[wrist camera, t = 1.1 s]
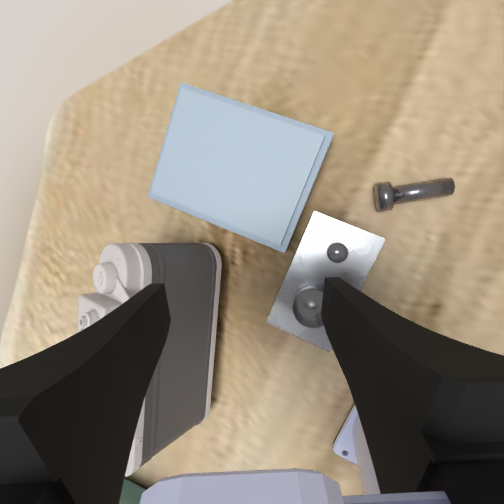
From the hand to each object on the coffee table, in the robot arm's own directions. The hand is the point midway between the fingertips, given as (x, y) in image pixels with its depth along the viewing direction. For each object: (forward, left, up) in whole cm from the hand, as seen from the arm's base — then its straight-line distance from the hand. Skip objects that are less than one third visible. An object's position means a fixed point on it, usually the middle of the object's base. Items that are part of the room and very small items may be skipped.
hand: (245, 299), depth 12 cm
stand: (+5, -6, -11) cm, 13 cm away
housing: (-4, -1, -11) cm, 11 cm away
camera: (+7, +9, -11) cm, 16 cm away
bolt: (-8, -9, -11) cm, 16 cm away
